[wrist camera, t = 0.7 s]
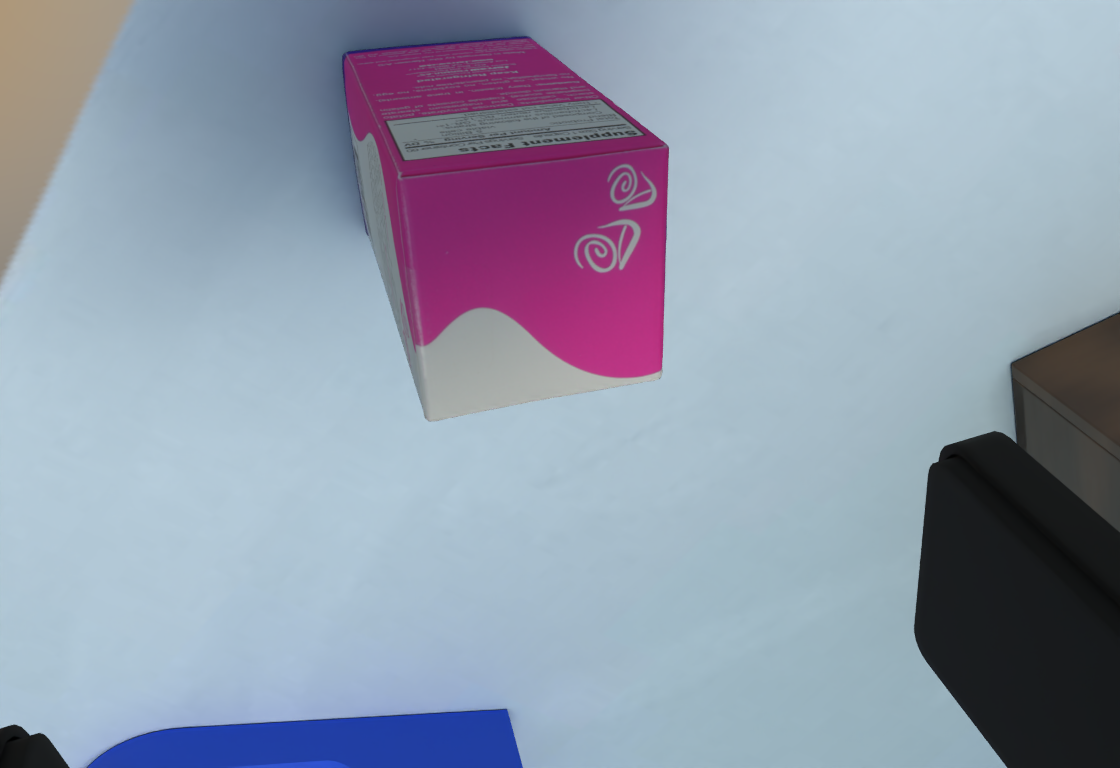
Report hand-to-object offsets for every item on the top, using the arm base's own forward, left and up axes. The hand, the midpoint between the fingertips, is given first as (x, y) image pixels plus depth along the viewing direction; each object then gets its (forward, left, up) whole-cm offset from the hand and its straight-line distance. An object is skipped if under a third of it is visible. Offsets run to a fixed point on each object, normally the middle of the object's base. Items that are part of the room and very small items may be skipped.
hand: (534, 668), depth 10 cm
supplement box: (-2, +2, -22) cm, 22 cm away
